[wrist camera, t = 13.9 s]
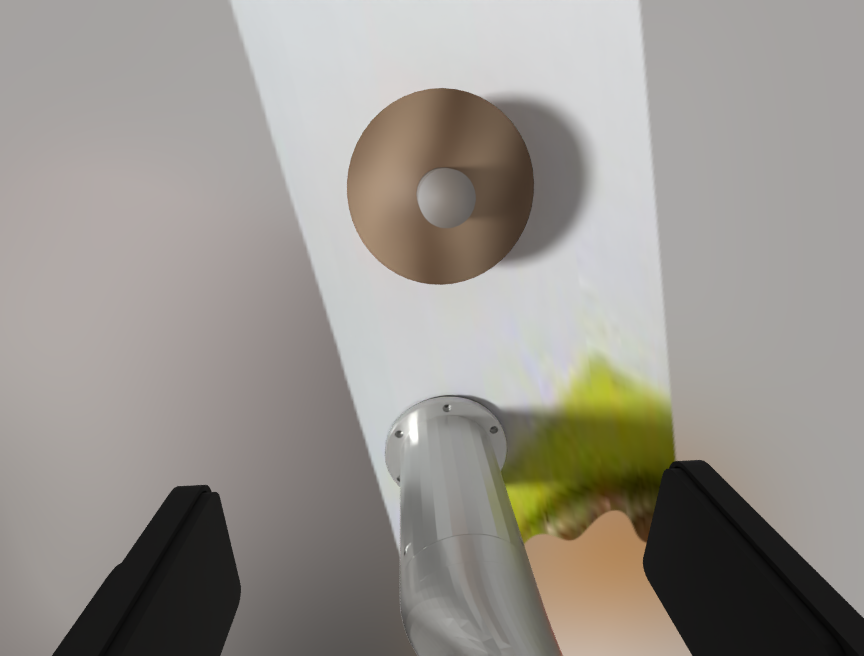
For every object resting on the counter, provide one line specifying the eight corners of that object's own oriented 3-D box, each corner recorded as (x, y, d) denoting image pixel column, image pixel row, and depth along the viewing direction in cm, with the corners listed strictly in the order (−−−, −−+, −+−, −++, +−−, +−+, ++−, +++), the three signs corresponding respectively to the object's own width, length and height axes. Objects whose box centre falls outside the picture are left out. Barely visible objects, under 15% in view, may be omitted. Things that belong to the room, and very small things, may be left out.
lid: (537, 91, 29) (563, 78, 24) (522, 279, 34) (542, 298, 29) (341, 89, 28) (329, 76, 24) (355, 282, 33) (347, 302, 28)
